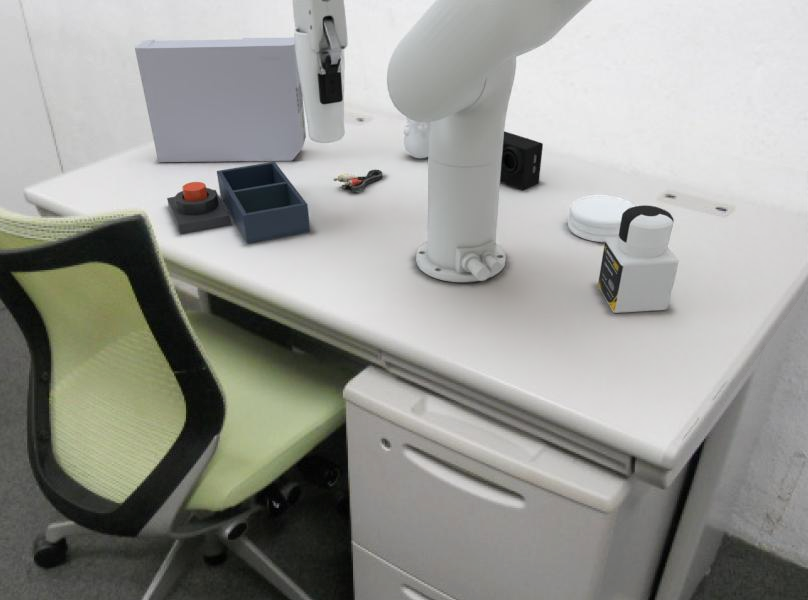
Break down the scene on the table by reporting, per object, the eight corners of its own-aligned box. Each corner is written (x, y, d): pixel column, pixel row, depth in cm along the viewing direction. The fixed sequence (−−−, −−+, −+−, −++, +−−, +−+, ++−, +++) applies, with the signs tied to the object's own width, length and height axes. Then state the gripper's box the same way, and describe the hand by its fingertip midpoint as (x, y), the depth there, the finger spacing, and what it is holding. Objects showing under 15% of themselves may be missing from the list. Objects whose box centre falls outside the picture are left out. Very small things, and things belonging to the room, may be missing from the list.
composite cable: (376, 173, 137) (376, 159, 136) (394, 181, 134) (394, 167, 133) (332, 188, 132) (331, 174, 131) (349, 197, 129) (348, 182, 128)
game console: (165, 151, 148) (143, 39, 136) (307, 150, 147) (297, 36, 135) (157, 162, 144) (134, 47, 132) (303, 161, 143) (293, 45, 130)
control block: (231, 225, 122) (227, 204, 120) (180, 234, 120) (175, 213, 118) (216, 199, 130) (213, 179, 128) (168, 207, 128) (164, 187, 126)
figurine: (393, 156, 143) (392, 89, 136) (419, 147, 147) (419, 81, 139) (420, 166, 139) (420, 97, 132) (446, 156, 143) (448, 88, 135)
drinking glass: (343, 146, 112) (335, 34, 103) (298, 145, 113) (286, 33, 104) (354, 131, 117) (347, 22, 108) (311, 130, 118) (301, 22, 109)
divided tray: (310, 232, 119) (307, 204, 116) (247, 244, 116) (242, 215, 114) (277, 187, 133) (274, 161, 130) (220, 197, 131) (216, 170, 128)
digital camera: (471, 175, 135) (473, 135, 131) (492, 167, 138) (495, 127, 134) (517, 192, 129) (521, 151, 125) (538, 183, 132) (543, 142, 127)
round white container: (644, 223, 118) (649, 202, 116) (621, 249, 112) (625, 227, 110) (582, 209, 123) (585, 188, 121) (556, 233, 117) (559, 211, 114)
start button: (209, 200, 122) (207, 188, 121) (186, 204, 121) (184, 192, 120) (205, 191, 125) (203, 180, 124) (182, 195, 124) (180, 183, 123)
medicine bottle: (596, 286, 104) (610, 201, 97) (649, 283, 104) (667, 198, 97) (612, 314, 98) (629, 226, 91) (668, 310, 99) (689, 223, 91)
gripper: (361, -42, 95) (368, 108, 106) (319, -57, 108) (329, 77, 119) (303, -36, 93) (316, 116, 104) (267, -52, 106) (282, 84, 117)
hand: (323, 94), depth 111 cm, fingers closed on drinking glass, 6 cm apart
